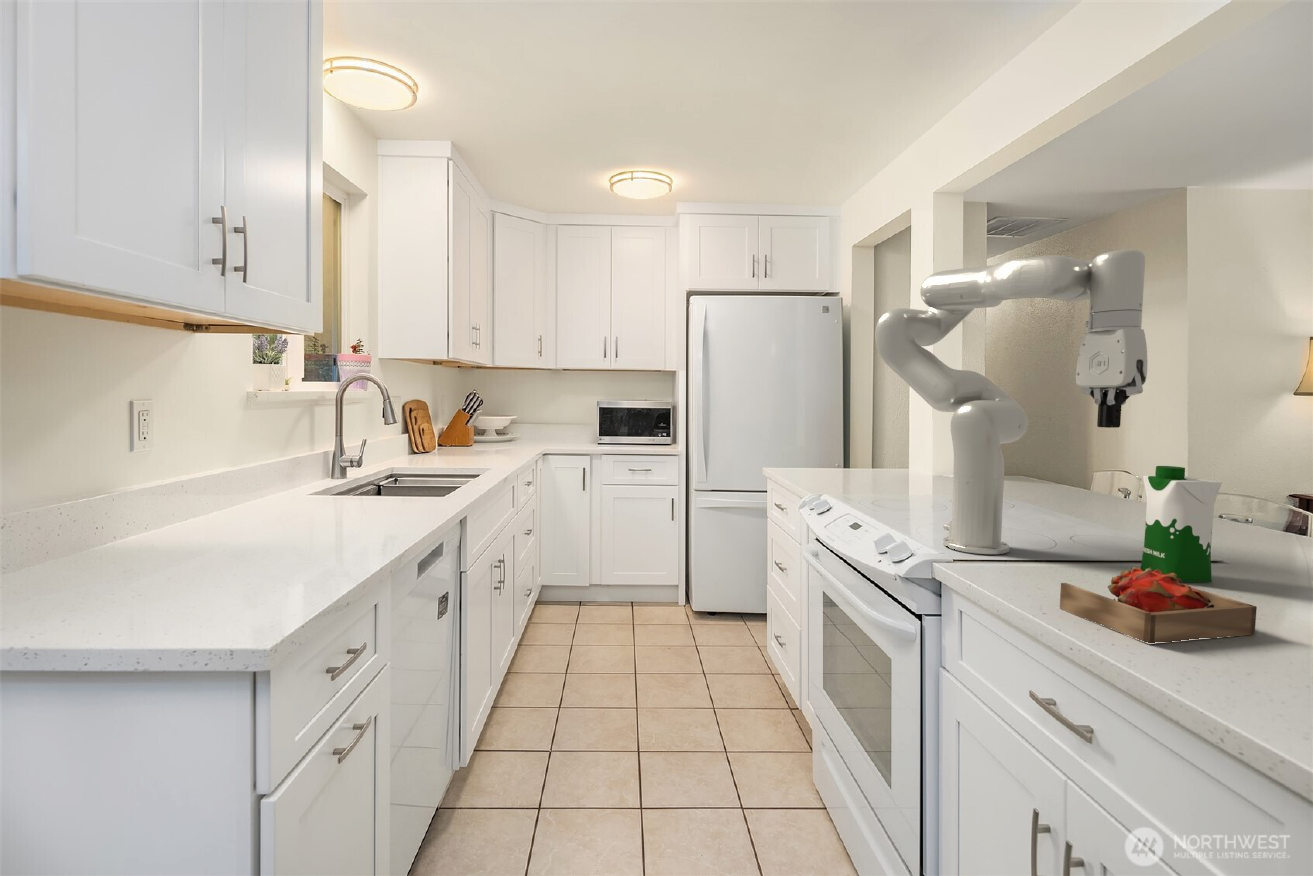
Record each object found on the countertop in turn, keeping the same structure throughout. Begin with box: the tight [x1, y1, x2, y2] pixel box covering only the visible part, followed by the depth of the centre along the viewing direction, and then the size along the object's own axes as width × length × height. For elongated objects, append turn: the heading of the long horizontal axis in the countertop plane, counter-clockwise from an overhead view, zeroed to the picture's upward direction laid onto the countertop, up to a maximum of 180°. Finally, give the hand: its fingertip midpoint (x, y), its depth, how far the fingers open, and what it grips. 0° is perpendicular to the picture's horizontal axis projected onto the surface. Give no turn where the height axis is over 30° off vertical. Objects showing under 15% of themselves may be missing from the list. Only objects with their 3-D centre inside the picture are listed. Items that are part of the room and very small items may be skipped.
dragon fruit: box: [1107, 566, 1214, 613], centre depth 87 cm, size 8×8×12 cm
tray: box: [1059, 582, 1258, 643], centre depth 87 cm, size 14×18×4 cm
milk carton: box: [1140, 465, 1223, 583], centre depth 108 cm, size 9×9×20 cm
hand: (1108, 427), depth 108 cm, fingers closed
